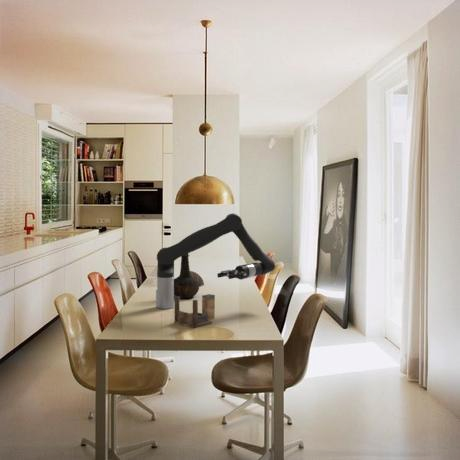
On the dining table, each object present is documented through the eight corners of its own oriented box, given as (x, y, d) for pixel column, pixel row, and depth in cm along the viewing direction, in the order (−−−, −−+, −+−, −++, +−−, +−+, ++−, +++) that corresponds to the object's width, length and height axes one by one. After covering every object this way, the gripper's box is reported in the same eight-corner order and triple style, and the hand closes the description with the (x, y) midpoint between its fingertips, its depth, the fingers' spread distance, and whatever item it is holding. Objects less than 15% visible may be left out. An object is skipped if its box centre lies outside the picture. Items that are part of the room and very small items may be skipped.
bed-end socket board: (173, 322, 266) (173, 296, 265) (191, 318, 274) (191, 293, 273) (194, 328, 255) (194, 301, 254) (212, 323, 264) (212, 297, 263)
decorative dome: (200, 282, 388) (200, 268, 387) (206, 287, 369) (206, 272, 368) (173, 283, 383) (173, 269, 382) (178, 288, 364) (178, 273, 363)
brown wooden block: (202, 318, 275) (202, 295, 274) (209, 317, 278) (209, 294, 278) (207, 320, 272) (207, 296, 271) (214, 318, 276) (214, 295, 275)
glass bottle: (190, 293, 344) (190, 249, 342) (204, 298, 329) (204, 252, 327) (165, 296, 335) (165, 251, 333) (178, 301, 320) (178, 253, 318)
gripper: (235, 263, 297) (213, 268, 286) (254, 265, 287) (232, 270, 276) (236, 277, 298) (214, 282, 287) (255, 279, 287) (233, 284, 276)
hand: (223, 276), depth 281 cm, fingers open, 8 cm apart
